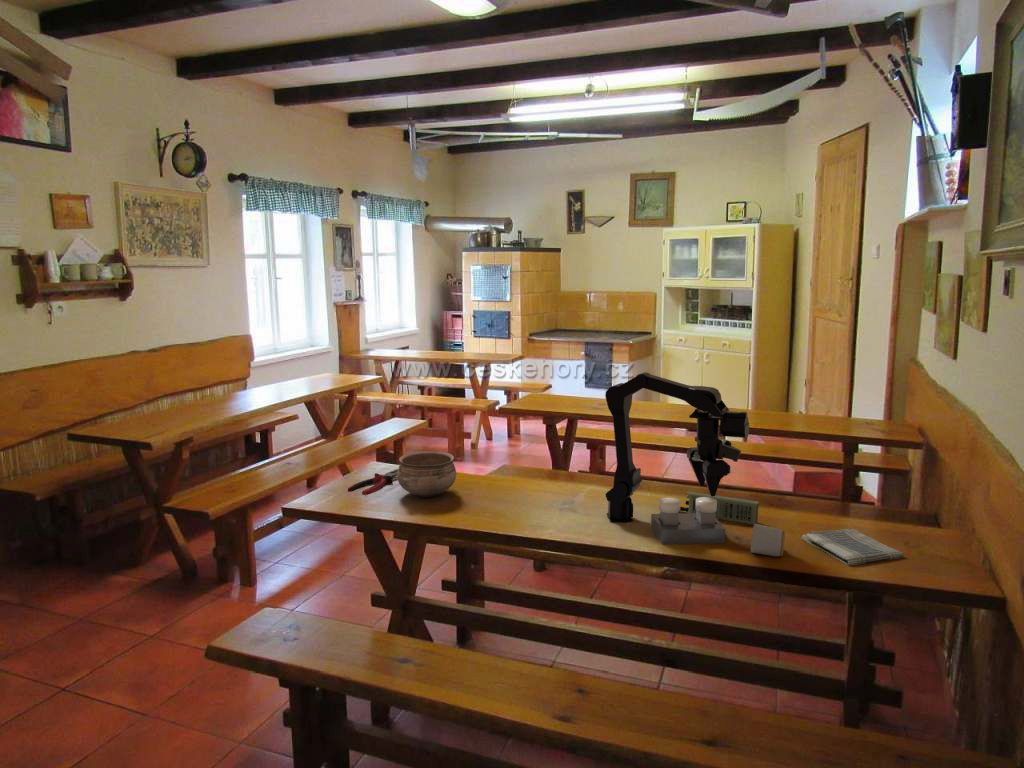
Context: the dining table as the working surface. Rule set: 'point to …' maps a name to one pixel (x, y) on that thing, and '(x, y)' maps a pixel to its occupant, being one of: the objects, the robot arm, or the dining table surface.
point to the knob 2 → (706, 510)
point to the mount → (687, 530)
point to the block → (767, 540)
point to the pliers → (378, 478)
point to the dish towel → (851, 546)
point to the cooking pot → (426, 473)
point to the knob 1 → (669, 511)
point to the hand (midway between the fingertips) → (707, 490)
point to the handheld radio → (727, 508)
